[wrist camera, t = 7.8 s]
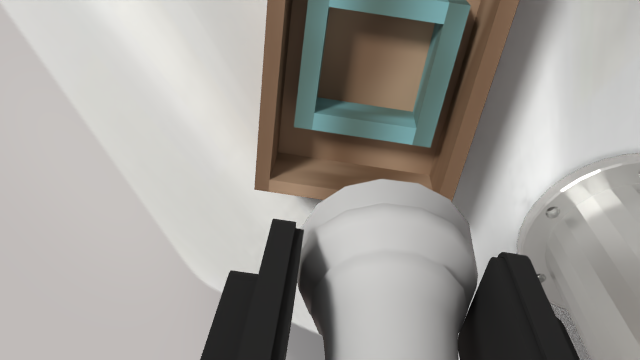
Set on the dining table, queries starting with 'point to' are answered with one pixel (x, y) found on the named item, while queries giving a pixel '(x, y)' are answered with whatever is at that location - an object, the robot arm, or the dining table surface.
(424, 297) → the rook chess piece
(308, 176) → the walled box
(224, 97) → the dining table surface
